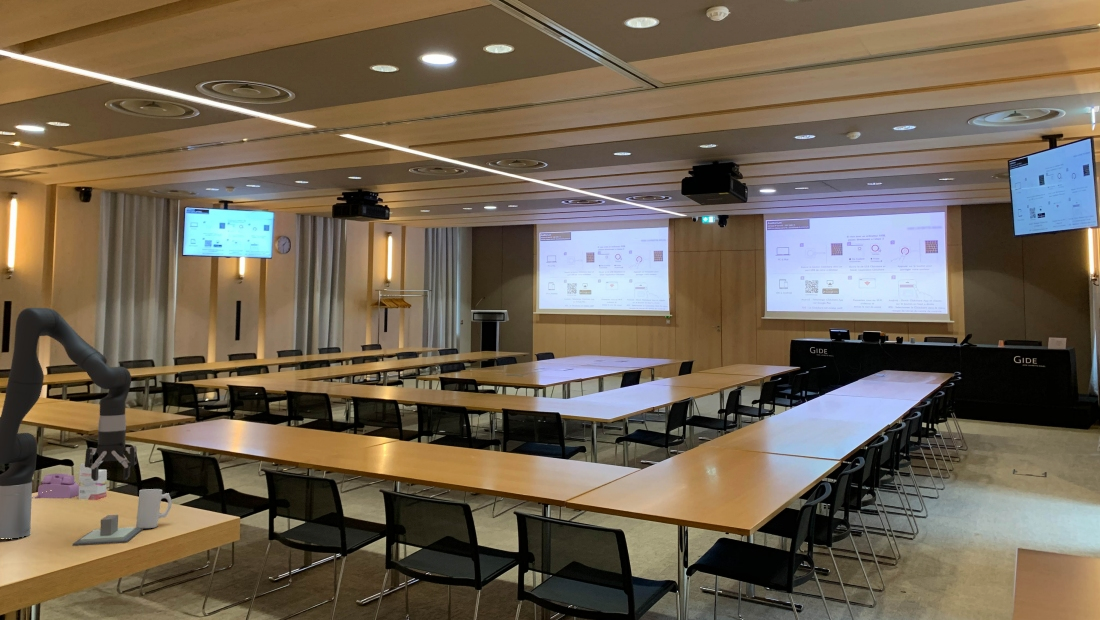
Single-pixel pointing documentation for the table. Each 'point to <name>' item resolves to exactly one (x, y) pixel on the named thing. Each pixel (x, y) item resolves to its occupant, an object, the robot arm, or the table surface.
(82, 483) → the ink cartridge box
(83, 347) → the robot arm
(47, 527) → the table surface
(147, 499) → the mug
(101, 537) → the cover plate
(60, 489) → the toy telephone
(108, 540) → the rubber mat
